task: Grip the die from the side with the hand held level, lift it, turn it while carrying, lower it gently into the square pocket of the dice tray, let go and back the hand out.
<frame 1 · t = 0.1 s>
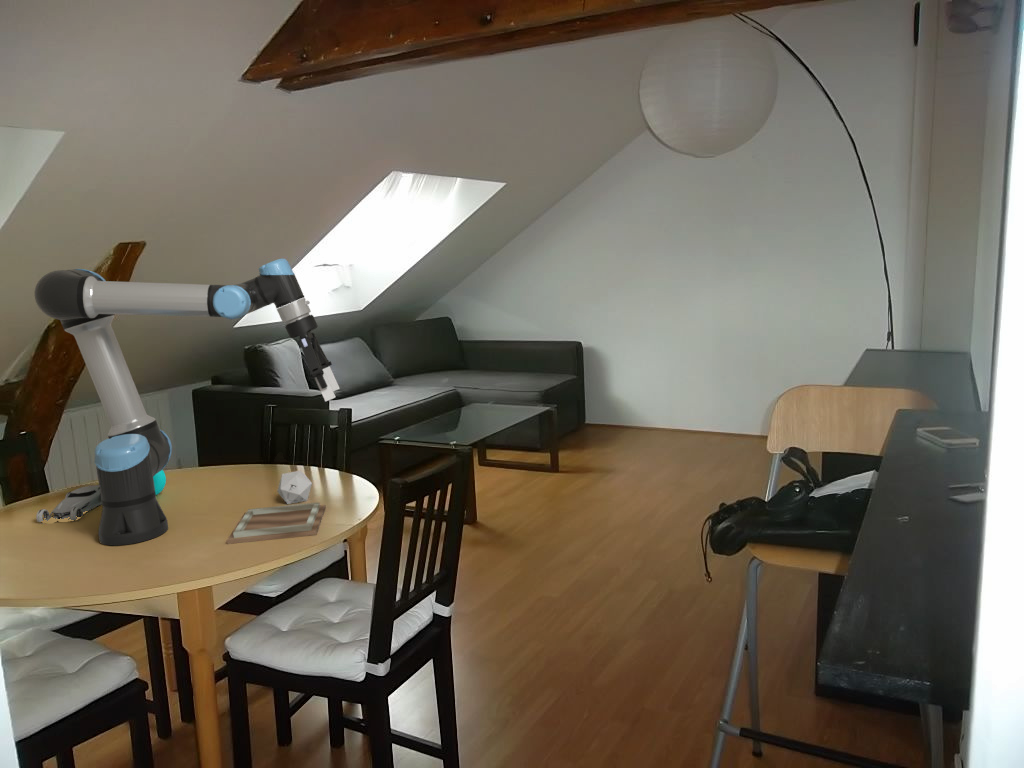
hand: (332, 394, 207), 28 cm above the table, tool tilted 20°, fingers open, 13 cm apart
car model: (80, 510, 217), on the table
dice tray: (279, 524, 193), on the table
die: (296, 502, 211), on the table
turquoise ball: (144, 501, 221), on the table
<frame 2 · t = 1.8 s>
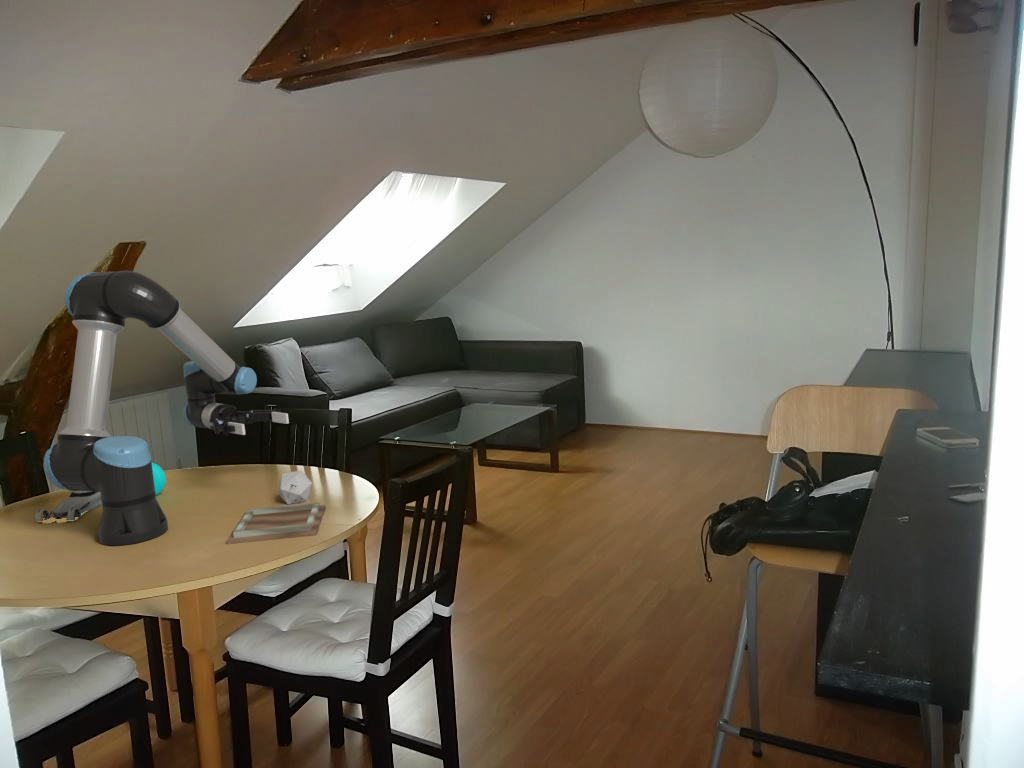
hand: (266, 424, 214), 20 cm above the table, tool horizontal, fingers open, 13 cm apart
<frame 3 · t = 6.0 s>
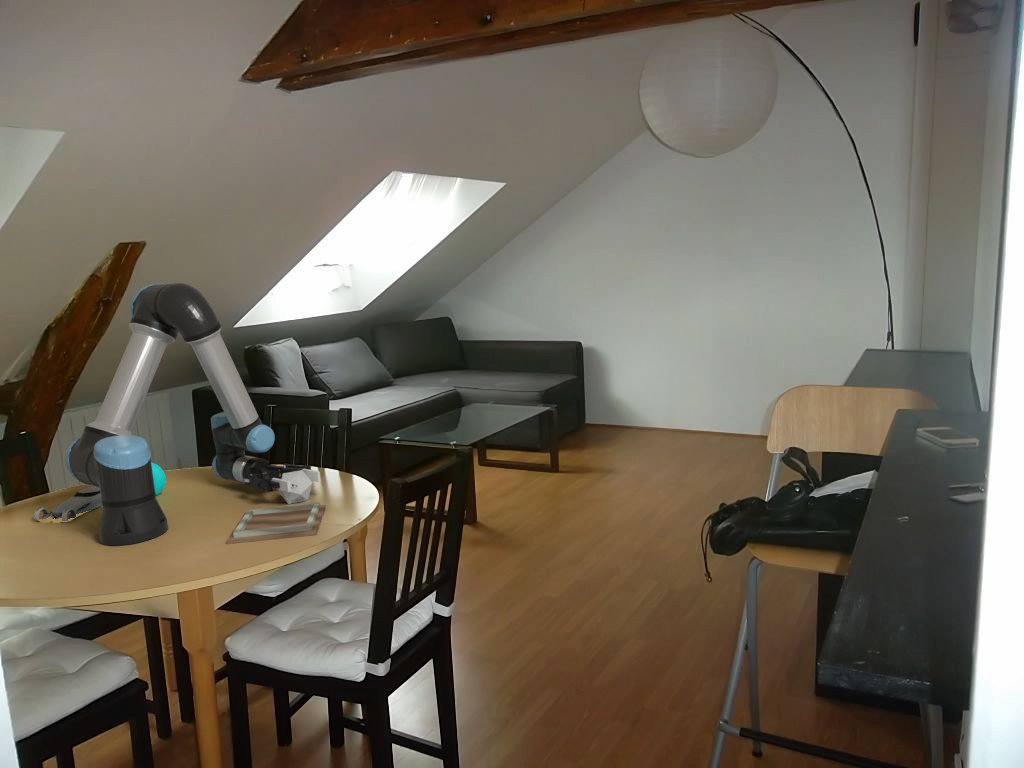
hand: (304, 481, 207), 6 cm above the table, tool horizontal, fingers open, 9 cm apart
die: (296, 501, 211), on the table, touching gripper
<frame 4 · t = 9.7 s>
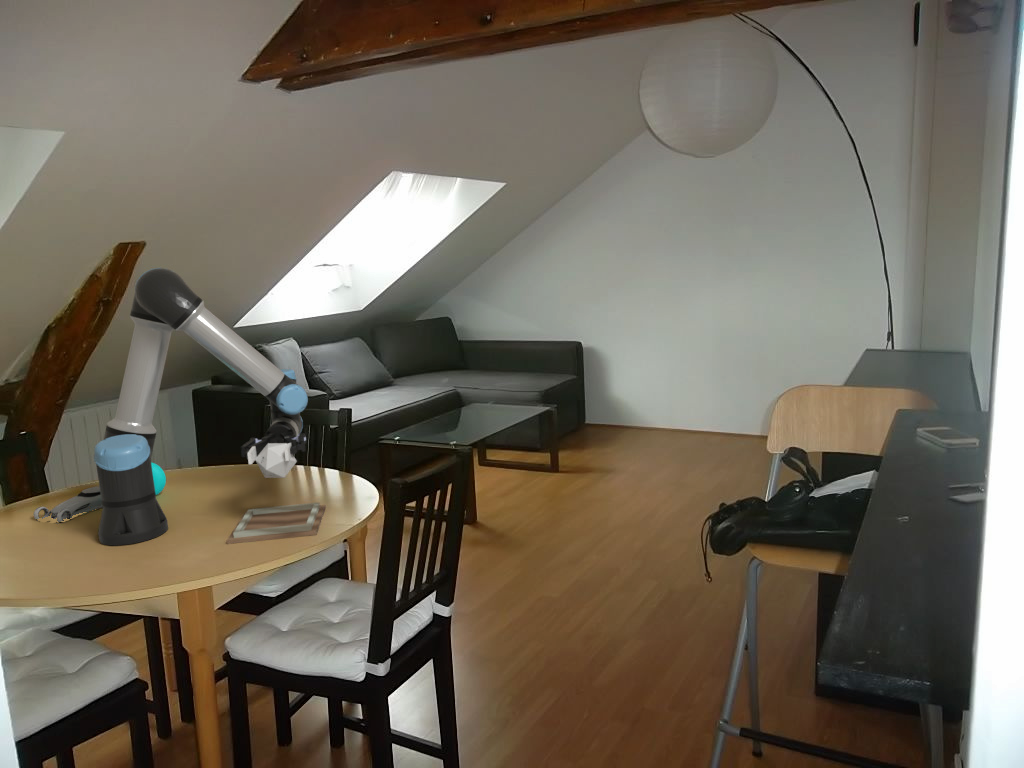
hand: (268, 456, 186), 18 cm above the table, tool horizontal, fingers closed on die, 8 cm apart
die: (277, 476, 191), point 12 cm above the table, touching gripper
when the fingers open (7 cm above the table, at t = 13.0 s): die stays where it is, resting on dice tray.
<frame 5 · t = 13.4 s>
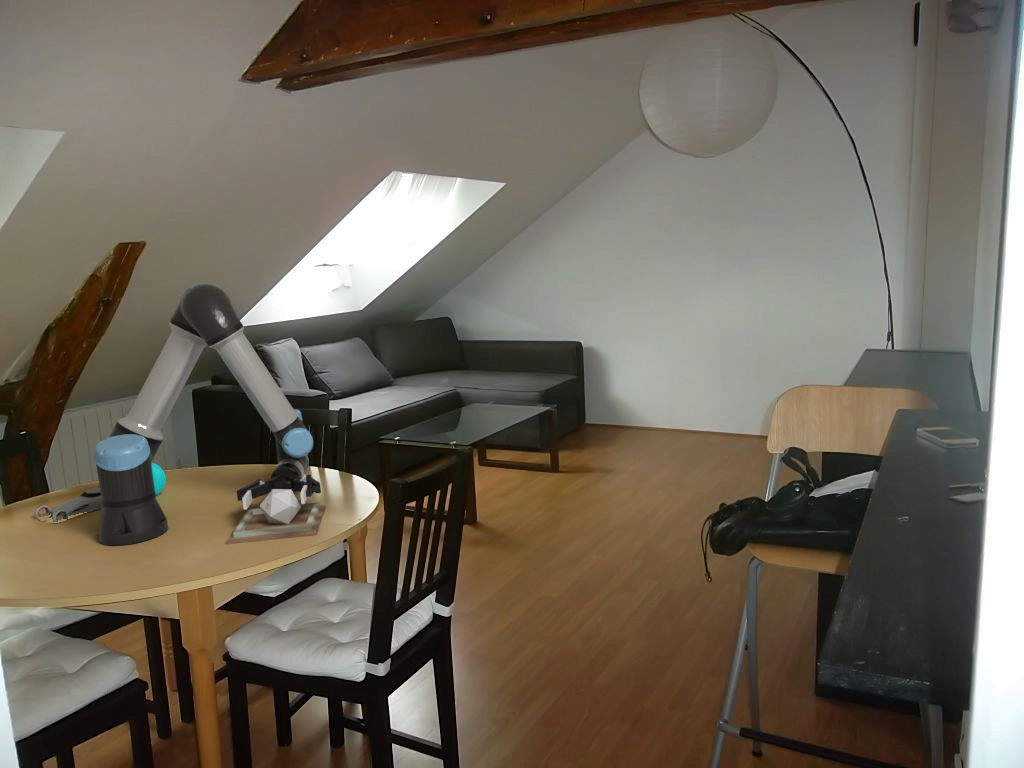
hand: (273, 501, 189), 7 cm above the table, tool horizontal, fingers open, 13 cm apart
die: (282, 522, 193), point 1 cm above the table, touching dice tray
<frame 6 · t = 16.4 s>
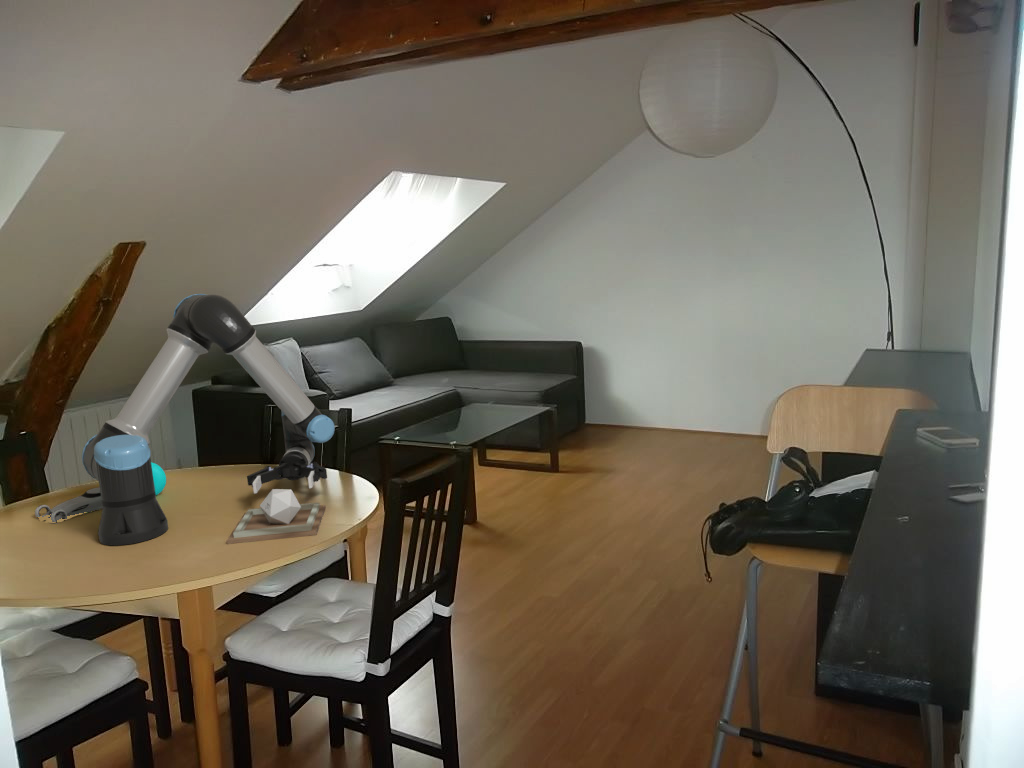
hand: (282, 485, 201), 7 cm above the table, tool horizontal, fingers open, 13 cm apart
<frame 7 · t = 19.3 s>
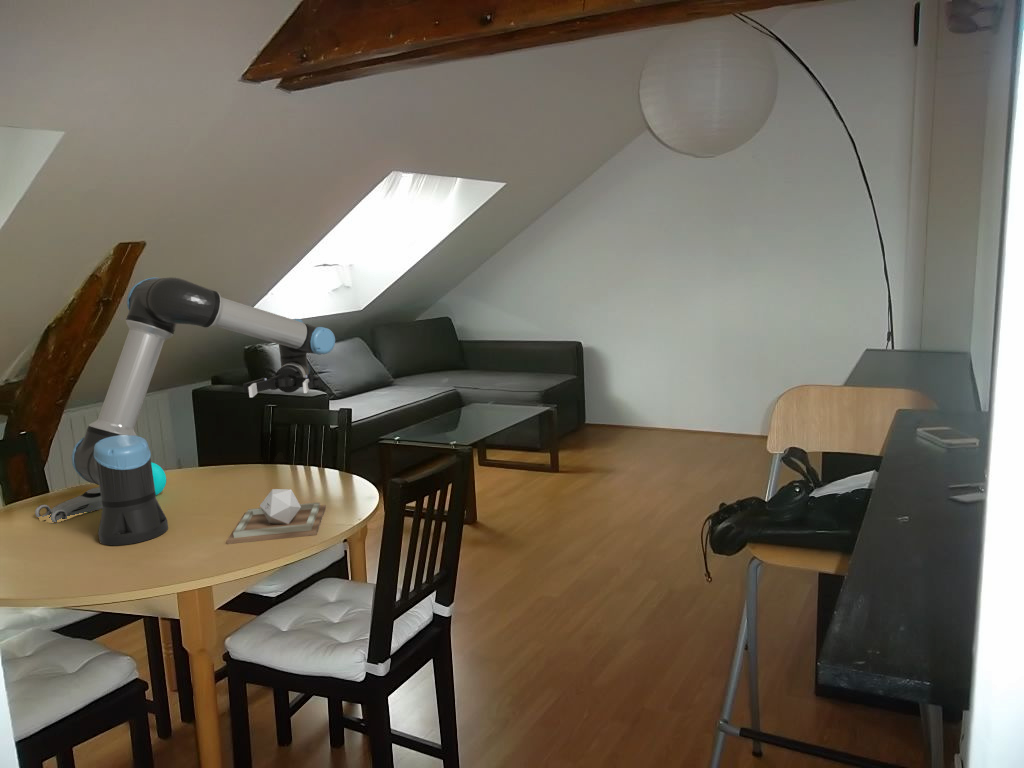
hand: (277, 390, 206), 30 cm above the table, tool horizontal, fingers open, 13 cm apart
at the end: die inside the target area on the dice tray (0.9 cm from its centre), point 0.6 cm above the dice tray's base; die touching dice tray; the gripper is holding nothing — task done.
